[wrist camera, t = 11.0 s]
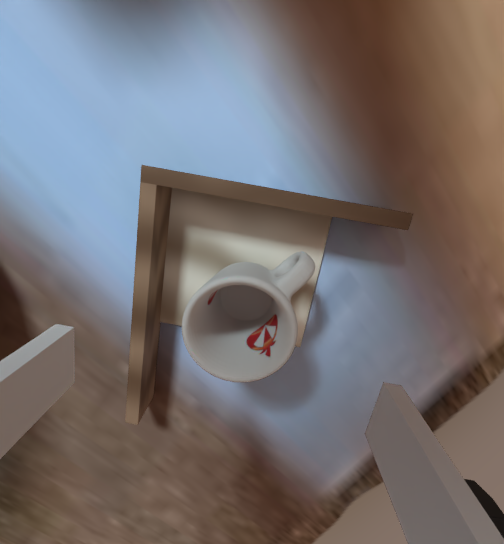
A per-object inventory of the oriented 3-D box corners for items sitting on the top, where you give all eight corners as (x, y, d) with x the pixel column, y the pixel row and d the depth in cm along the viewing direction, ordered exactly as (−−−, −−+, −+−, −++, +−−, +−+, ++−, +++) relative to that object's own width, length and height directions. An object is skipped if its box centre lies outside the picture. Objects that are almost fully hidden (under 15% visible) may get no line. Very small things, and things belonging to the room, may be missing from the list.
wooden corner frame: (160, 168, 25) (141, 164, 21) (390, 210, 25) (413, 213, 21) (142, 394, 31) (125, 422, 28) (325, 427, 31) (334, 460, 28)
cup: (273, 211, 25) (276, 221, 18) (331, 277, 27) (357, 313, 19) (187, 289, 28) (156, 327, 20) (244, 346, 29) (236, 403, 21)
